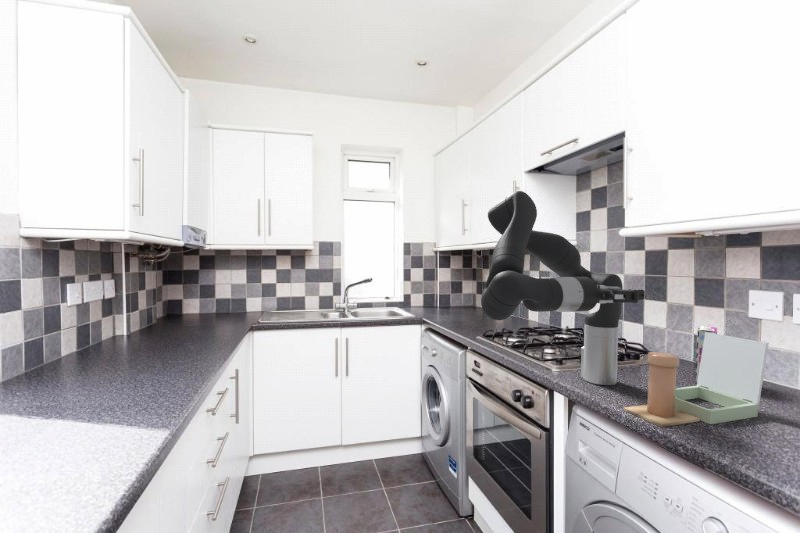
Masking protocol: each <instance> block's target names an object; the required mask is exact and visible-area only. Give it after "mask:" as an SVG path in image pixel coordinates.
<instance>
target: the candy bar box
mask: <svg viewBox="0 0 800 533" xmlns="http://www.w3.org/2000/svg"><path fill="white" fill-rule="evenodd" d="M696 331H697V332H696V333H697V335H696V337H697V338H696V357H695V358H696V359H695V360H696V361H695V362H696V363H695V376H694V377H695V378H694V381H695V382H696V383H697V381H698V374H699V368H700V362H701V356H702V349H703V343H704V337H705V332H709V333H715V334H718V328H717V327H715V326H714V327H713V326H706V325H698V327H697V330H696Z"/></svg>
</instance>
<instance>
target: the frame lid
mask: <svg viewBox="0 0 800 533" xmlns="http://www.w3.org/2000/svg"><path fill="white" fill-rule="evenodd" d="M768 349H769V343H768V342H766V341H759V340H753V339H747V338H742V337H735V336H730V335H725V334H720V333H719V334H718V333H717V334H715V333H709V332H705V337H704V343H703V349H702V356H701V362H700V368H699V374H698V381H697V382H696V386H700V387H703V388H706V389H710V390H713V391H716V392H719V393H723V394H726V395H729V396H732V397H735V398H739V399H742V400H744V401H747V402H751V403H755V404H758V405H760V401H761V394H762V388H763V381H764V374H765V369H766V364H767V355H768Z"/></svg>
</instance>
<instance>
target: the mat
mask: <svg viewBox="0 0 800 533" xmlns="http://www.w3.org/2000/svg"><path fill="white" fill-rule="evenodd" d="M623 411H625V412H627V413H629V414H631V415H634V416H636V417H638V418H640V419H643V420H646V421H647V422H649V423H651V424H653V425H655V426H658V427H660V428H665V427H670V426H675V425H676V426H677V425H684V424H690V423H696V422H700V421H701V420H700V418H697V417H695V416H692V415H690V414H687V413H685V412H682V411H679V410H677V409H674V417H670V418H667V417H660V416H656V415H653V414H651V413H649V412H648V411H647V404H640V405H632V406H625V407H623Z"/></svg>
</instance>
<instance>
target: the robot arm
mask: <svg viewBox="0 0 800 533" xmlns="http://www.w3.org/2000/svg"><path fill="white" fill-rule="evenodd" d="M537 217H538V210H537V205H536V204H535V202H534V200H533V199H532V198H531V196H530V195H529V194H528V193H526V192H525V191H522V190H517V191H514V192H512V193H510V194H508V195H507V196H505V198H503V199H501V200H500V201H499V202H497V203H495V204H494V205H493V206H492V207H491V208H490V209H489V210H488V212H487V218H488V220H489V221H488V222H489V223H490V224H491V226H492V227H493V228H494V229H495V231H496V232H498V233H499V234H500V235H501V236H500V237H499V239H498V241H497V243H496V245H495V247H494V248H493V252H492V257H491V263H490V270H489V273H488V275H487V279H486V280H485V285H484V288H483V290H482V293H481V296H480V306H481V308H482V311H483V313H484V314H485V315H486V316H487V317H489V319H491V320H494V321H504V320H506V319H507V320H508V318H509V317H511V316H512V315H513V314H514V312H515V311H516V309H517V308H518V307H519V306H520V304H521V303H522V304H523V306H524V308H526V309H527V310H528V311H531V312H538V313H542V312H559V313H569V312H570V313H571V312H573V313H575V312H589V311H591V310H593V309H594V308H595V307H596V306H597V304H599V308H598V310H597V311H595V312H592V313H588V314H587V313H586V315H585V316H584V328H583V330H584V331H583V332H584V333H583V334H584V335H583V337H584V338H583V346H581V348H580V349H581V354H580V356H581V357H580V378H582V379H583V380H584V381H585V382H588V383H591V384H595V385H599V386H600V385H601V386H614V385H616V384H618V383H617V380H618V379H617V378H618V352H619V348H618V347H619V344H618V343H619V323H620V318H621V313H622V304H623V303H625V304H626V303H628V304H629V303H634V304H636V303H639V301H643V300H645V298H646V297H645V296H646V295H645V294H646V293H645V290H644V289H632V288H628V289H627V288H624V287H623V282H622V279H621V277H620V276H619V275H618V274H616V273H609V272H608V273H606V272H592V271H589V270H588V269H586V267H584V266H582V259H581V258H582V257H581V254H580V251H579V249H577V247H576V246H574V245H573V243H571V241H569V240H568V239H566V237H564V236H563V235H560V234H558V233H553V232H546V231H539V230H533V229H534V225H535V223H536V221H537ZM526 251H527V252H528V253H529V254H531V255H532V256H533V257H535V258H536V259H537V260H538V261H540V263H542V264H543V265H544V266H545V267H546V268H548V269H549V270H550V271H552V272H553V273H554V274H556V275H557V277H544V278H543V277H540V278H539V277H537V278H536V277H534V276H531V275H528V274H524V271H525V257H526Z"/></svg>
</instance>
